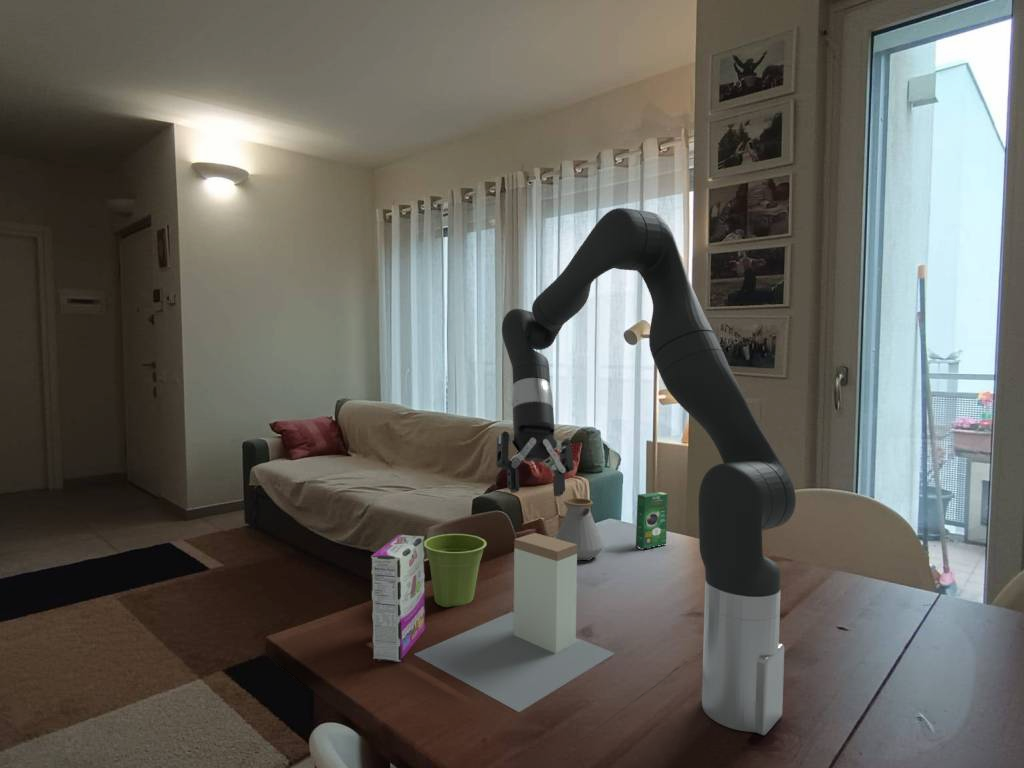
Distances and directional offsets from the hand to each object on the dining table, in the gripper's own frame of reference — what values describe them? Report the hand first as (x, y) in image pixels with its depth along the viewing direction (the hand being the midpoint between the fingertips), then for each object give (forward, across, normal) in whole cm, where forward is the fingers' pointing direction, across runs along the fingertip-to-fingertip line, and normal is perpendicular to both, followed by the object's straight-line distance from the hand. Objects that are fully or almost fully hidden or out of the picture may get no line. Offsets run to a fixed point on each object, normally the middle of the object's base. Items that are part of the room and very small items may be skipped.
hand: (537, 493), depth 108 cm
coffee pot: (+7, +25, +29) cm, 39 cm away
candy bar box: (+24, -21, +11) cm, 33 cm away
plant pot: (+16, -7, +22) cm, 28 cm away
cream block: (+23, +1, +2) cm, 24 cm away
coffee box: (+2, +47, +32) cm, 57 cm away
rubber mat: (+26, -5, 0) cm, 27 cm away
